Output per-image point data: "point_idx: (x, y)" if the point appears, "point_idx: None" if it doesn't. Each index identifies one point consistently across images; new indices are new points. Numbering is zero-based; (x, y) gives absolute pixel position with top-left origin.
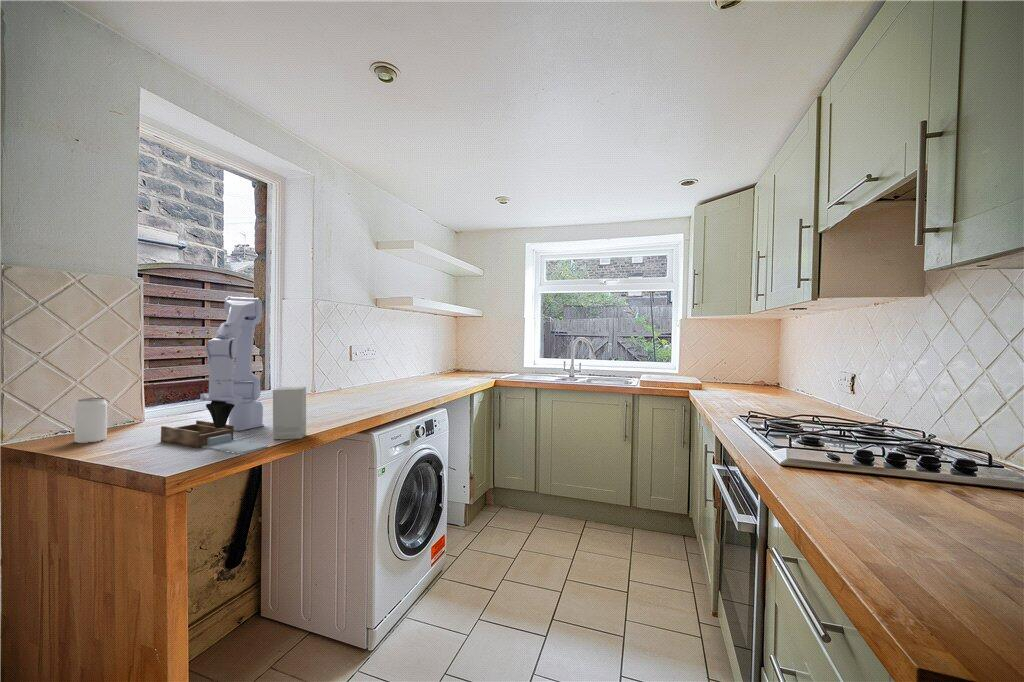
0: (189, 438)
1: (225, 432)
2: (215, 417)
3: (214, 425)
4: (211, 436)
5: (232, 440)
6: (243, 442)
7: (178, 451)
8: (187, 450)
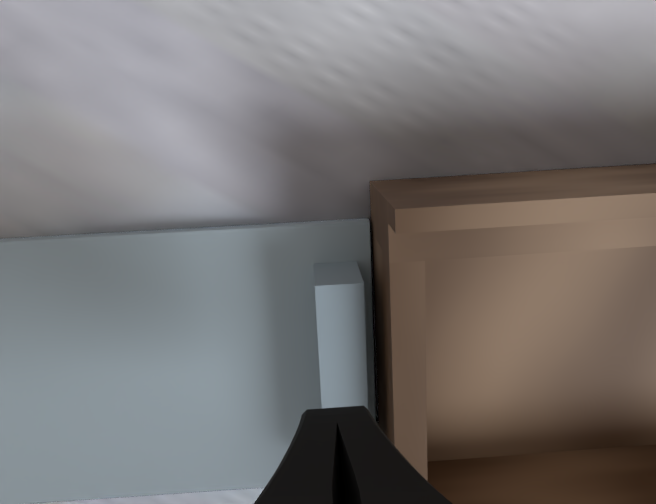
0: (529, 185)
1: None
2: (316, 484)
3: (362, 415)
4: (385, 338)
5: None
6: (174, 473)
7: (410, 21)
8: (373, 88)
